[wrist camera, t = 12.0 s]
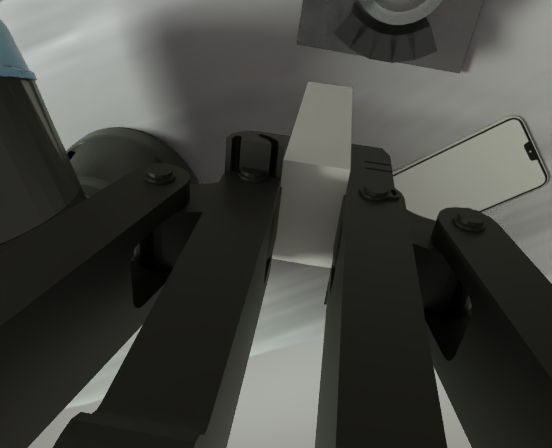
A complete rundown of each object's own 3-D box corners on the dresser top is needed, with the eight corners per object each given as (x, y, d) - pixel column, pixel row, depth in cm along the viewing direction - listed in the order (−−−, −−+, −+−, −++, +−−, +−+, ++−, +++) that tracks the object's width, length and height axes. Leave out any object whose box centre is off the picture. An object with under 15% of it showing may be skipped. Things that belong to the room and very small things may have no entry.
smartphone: (355, 191, 46) (519, 111, 40) (355, 188, 47) (517, 109, 40) (392, 250, 49) (552, 183, 42) (392, 246, 49) (550, 180, 43)
